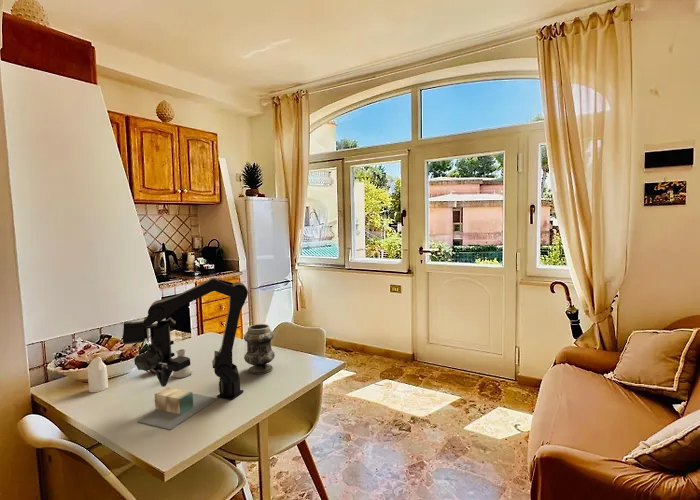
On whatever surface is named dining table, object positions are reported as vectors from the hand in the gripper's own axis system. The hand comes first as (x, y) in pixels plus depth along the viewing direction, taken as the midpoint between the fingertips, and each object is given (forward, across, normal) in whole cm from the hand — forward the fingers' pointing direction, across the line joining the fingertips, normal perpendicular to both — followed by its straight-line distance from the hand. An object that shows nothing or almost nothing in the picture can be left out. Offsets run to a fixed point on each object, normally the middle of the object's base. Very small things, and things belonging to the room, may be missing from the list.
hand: (163, 386), depth 123 cm
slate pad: (+7, +6, 0) cm, 9 cm away
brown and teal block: (+4, -2, 0) cm, 4 cm away
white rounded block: (+7, -35, +2) cm, 36 cm away
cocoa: (+7, -27, +21) cm, 35 cm away
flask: (+7, -15, +22) cm, 28 cm away
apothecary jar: (+7, +12, +36) cm, 39 cm away
